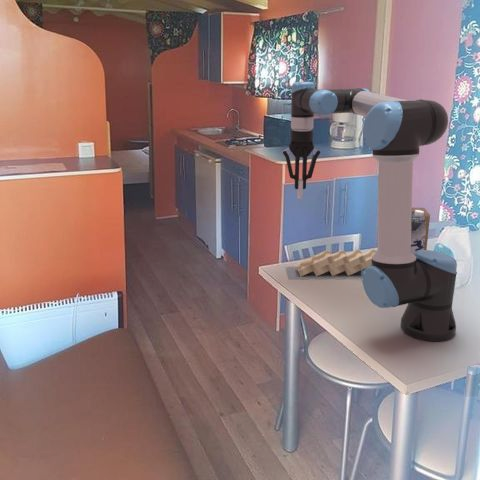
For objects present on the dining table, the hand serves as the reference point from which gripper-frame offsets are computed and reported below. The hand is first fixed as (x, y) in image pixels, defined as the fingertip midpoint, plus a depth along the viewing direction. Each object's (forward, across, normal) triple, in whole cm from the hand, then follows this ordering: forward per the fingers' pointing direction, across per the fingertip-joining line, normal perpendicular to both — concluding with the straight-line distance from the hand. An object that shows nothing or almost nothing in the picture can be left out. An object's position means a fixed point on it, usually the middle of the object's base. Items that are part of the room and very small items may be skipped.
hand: (299, 198), depth 195 cm
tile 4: (+27, -17, 0) cm, 32 cm away
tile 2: (+27, -6, 0) cm, 28 cm away
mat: (+28, -12, 0) cm, 31 cm away
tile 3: (+27, -12, 0) cm, 29 cm away
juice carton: (+29, -36, +12) cm, 48 cm away
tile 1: (+27, 0, 0) cm, 27 cm away
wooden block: (+29, -45, -14) cm, 55 cm away
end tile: (+27, -22, 0) cm, 35 cm away
